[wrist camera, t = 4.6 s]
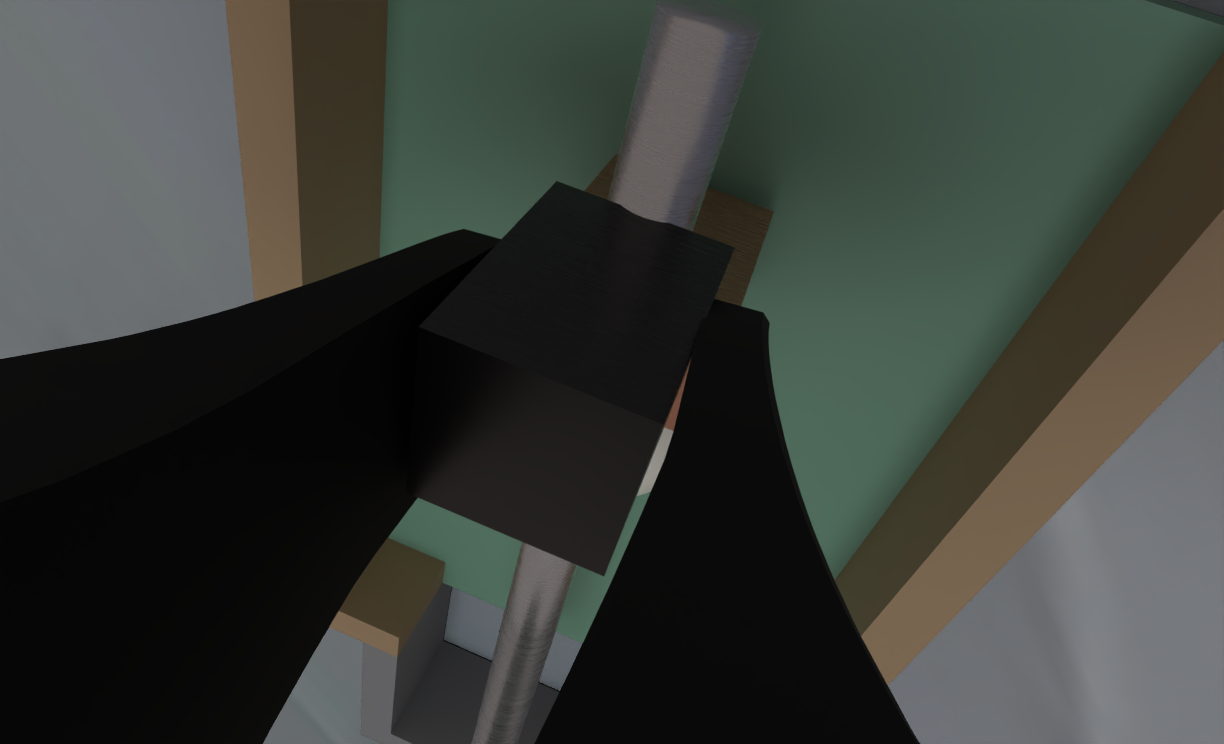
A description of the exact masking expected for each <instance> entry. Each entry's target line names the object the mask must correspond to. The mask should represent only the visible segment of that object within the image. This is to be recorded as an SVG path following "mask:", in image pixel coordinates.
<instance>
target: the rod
mask: <svg viewBox="0 0 1224 744" xmlns="http://www.w3.org/2000/svg"><path fill="white" fill-rule="evenodd" d="M760 33H761V27H760V26H759V24H758V23H757V22H756V21H754V20H753V19H752V18H750V17H749V16H747V15H745V14H743V13H741V12H739V11H737V10H735V9H733V8H730V7H728V6H725V5H722V4H720V3H716V2H713V1H710V0H657V3H656V7H655V11H654V15H653V19H652V23H651V27H650V31H649V35H648V39H647V43H646V47H645V51H644V55H643V59H642V63H641V67H640V71H639V75H638V79H637V83H636V87H635V91H634V95H633V99H632V103H631V107H630V111H629V115H628V119H627V123H626V127H625V131H624V135H623V139H622V143H621V147H620V151H619V154H615V155H614V157H613V158H612V159H611V160H610V161H609V162H608V164H607V165H606V166H605V167H604V168H603V170H602V171H601V172H600V173H599V174H598V175H597V177H596V178H595V179H594V180H593V181H592V182H591V184H590V185H589V186H588V187H587V188H586V189H585V191H582V190H580V189H577V188H574V187H572V186H569V185H566V184H564V183H561V182H558V181H556V182H555V183H554V184H553V185H552V186H551V187H550V189H549V190H548V191H547V192H546V193H545V194H544V195H543V196H542V197H541V198H540V199H539V200H538V201H537V202H536V203H535V204H534V205H533V206H532V208H531V209H530V210H529V211H528V212H527V213H526V214H525V215H524V216H523V217H522V218H521V219H520V220H519V221H518V222H517V223H516V224H515V225H514V227H513V228H512V229H511V230H510V231H509V232H508V233H507V234H506V235H505V236H504V237H503V238H502V239H501V240H500V241H499V242H498V243H497V245H496V246H495V247H494V248H493V249H492V250H491V251H490V252H489V253H488V254H487V255H486V256H485V257H484V258H483V259H482V260H481V261H480V262H479V264H478V265H477V266H476V267H475V268H474V269H473V270H472V271H471V272H470V273H469V274H468V275H467V276H466V277H465V278H464V279H463V280H462V281H461V283H460V284H459V285H458V286H457V287H456V288H455V289H454V290H453V291H452V292H451V293H450V294H449V295H448V296H447V297H446V298H445V299H444V301H443V302H442V303H441V304H440V305H439V306H438V307H437V308H436V309H435V310H434V311H433V312H432V313H431V314H430V315H429V316H428V317H427V318H426V320H425V321H424V322H423V323H422V324H421V325H420V326H419V329H418V342H417V354H416V367H415V380H414V393H413V405H412V418H411V431H410V444H409V456H408V469H407V482H406V493H408V494H410V495H413V496H415V497H418V498H420V499H422V500H425V501H427V502H429V503H432V504H434V505H436V506H439V507H441V508H444V509H446V510H448V511H451V512H453V513H455V514H458V515H460V516H462V517H465V518H467V519H469V520H472V521H474V522H477V523H479V524H481V525H484V526H486V527H488V528H491V529H493V530H495V531H498V532H500V533H502V534H505V535H507V536H510V537H512V538H514V539H517V540H519V541H521V542H522V543H521V547H520V551H519V555H518V559H517V563H516V567H515V571H514V575H513V579H512V583H511V587H510V591H509V595H508V599H507V603H506V607H505V611H504V615H503V619H502V623H501V627H500V631H499V635H498V639H497V643H496V647H495V651H494V655H493V659H492V663H491V667H490V671H489V675H488V679H487V683H486V687H485V691H484V695H483V699H482V703H481V707H480V711H479V715H478V719H477V723H476V727H475V731H474V735H473V739H472V743H471V744H517V743H518V740H519V737H520V735H521V732H522V729H523V726H524V723H525V720H526V717H527V714H528V711H529V708H530V705H531V702H532V699H533V697H534V694H535V691H536V688H537V685H538V682H539V679H540V676H541V673H542V670H543V667H544V664H545V661H546V659H547V656H548V653H549V650H550V647H551V644H552V641H553V638H554V635H555V632H556V629H557V626H558V623H559V621H560V618H561V615H562V612H563V609H564V606H565V603H566V600H567V597H568V594H569V591H570V588H571V585H572V582H573V580H574V577H575V574H576V571H577V568H578V566H580V567H583V568H585V569H587V570H590V571H592V572H594V573H597V574H599V575H601V576H605V573H606V571H607V568H608V566H609V563H610V561H611V558H612V556H613V554H614V551H615V549H616V546H617V544H618V541H619V539H620V536H621V534H622V531H623V529H624V526H625V524H626V521H627V519H628V516H629V514H630V511H631V509H632V506H633V504H634V501H635V499H636V497H637V494H638V492H639V489H640V487H641V484H642V482H643V479H644V477H645V474H646V472H647V469H648V467H649V464H650V462H651V459H652V457H653V454H654V452H655V449H656V447H657V444H658V442H659V440H660V437H661V435H662V432H663V430H664V428H667V429H669V430H672V431H674V427H675V423H676V418H677V414H678V410H679V406H680V402H681V398H682V394H683V390H684V386H685V381H686V377H687V373H688V369H689V365H690V361H691V357H692V353H693V348H694V344H695V340H696V336H697V332H698V328H699V324H700V322H701V320H702V318H707V315H708V313H709V311H710V308H711V306H712V304H713V301H714V299H717V300H721V301H725V302H728V303H732V304H735V305H739V306H742V303H743V300H744V297H745V294H746V291H747V288H748V286H749V283H750V280H751V277H752V274H753V271H754V268H755V265H756V263H757V260H758V257H759V254H760V251H761V248H762V245H763V243H764V240H765V237H766V234H767V231H768V228H769V225H770V222H771V220H772V217H773V214H774V211H772V210H769V209H766V208H764V207H761V206H758V205H755V204H753V203H750V202H747V201H744V200H742V199H739V198H736V197H733V196H731V195H728V194H725V193H723V192H720V191H717V190H714V189H712V188H709V187H708V185H709V182H710V179H711V176H712V173H713V170H714V167H715V164H716V162H717V159H718V156H719V153H720V150H721V147H722V144H723V141H724V138H725V135H726V132H727V129H728V126H729V124H730V121H731V118H732V115H733V112H734V109H735V106H736V103H737V100H738V97H739V94H740V91H741V88H742V86H743V83H744V80H745V77H746V74H747V71H748V68H749V65H750V62H751V59H752V56H753V53H754V50H755V47H756V45H757V42H758V39H759V36H760Z"/></svg>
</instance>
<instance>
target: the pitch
mask: <svg viewBox="0 0 1224 744" xmlns="http://www.w3.org/2000/svg"><path fill="white" fill-rule="evenodd" d="M710 1H713V2H716V3H720V4H722V5H725V6H728V7H730V8H733V9H735V10H737V11H739V12H741V13H743V14H745V15H747V16H749V17H750V18H752V19H753V20H754V21H756V22H757V23H758V24H759V26H760V27H761V33H760V36H759V39H758V42H757V45H756V47H755V50H754V53H753V56H752V59H751V62H750V65H749V68H748V71H747V74H746V77H745V80H744V83H743V86H742V88H741V91H740V94H739V97H738V100H737V103H736V106H735V109H734V112H733V115H732V118H731V121H730V124H729V126H728V129H727V132H726V135H725V138H724V141H723V144H722V147H721V150H720V153H719V156H718V159H717V162H716V164H715V167H714V170H713V173H712V176H711V179H710V182H709V185H708V187H709V188H712V189H714V190H717V191H720V192H723V193H725V194H728V195H731V196H733V197H736V198H739V199H742V200H744V201H747V202H750V203H753V204H755V205H758V206H761V207H764V208H766V209H769V210H772V211H774V214H773V217H772V220H771V222H770V225H769V228H768V231H767V234H766V237H765V240H764V243H763V245H762V248H761V251H760V254H759V257H758V260H757V263H756V265H755V268H754V271H753V274H752V277H751V280H750V283H749V286H748V288H747V291H746V294H745V297H744V300H743V303H742V307H746V308H750V309H753V310H757V311H760V312H764V314H765V316H766V317H767V319H768V321H769V323H770V326H769V355H770V365H771V372H772V380H773V386H774V392H775V397H776V402H777V407H778V411H779V415H780V420H781V424H782V429H783V433H784V437H785V441H786V445H787V449H788V452H789V456H790V460H791V463H792V466H793V470H794V473H795V476H796V479H797V482H798V486H799V489H800V492H801V495H802V498H803V501H804V504H805V507H806V510H807V513H808V515H809V518H810V521H811V524H812V526H813V529H814V532H815V534H816V537H817V539H818V542H819V544H820V547H821V549H822V551H823V554H824V556H825V559H826V561H827V564H828V566H829V568H830V571H831V573H832V576H833V578H834V580H835V582H836V584H837V586H838V589H839V591H840V593H841V595H842V597H843V599H844V602H845V604H846V606H847V608H848V610H849V613H850V615H851V617H852V619H853V621H854V623H855V625H856V627H857V629H858V631H859V633H860V635H861V637H862V639H863V641H864V643H865V644H866V646H867V648H868V650H869V652H870V654H871V656H872V657H873V659H874V661H875V663H876V665H877V667H878V669H879V670H880V672H881V674H882V676H883V678H884V680H885V682H886V683H887V685H889V684H890V683H891V682H892V681H893V679H894V678H895V677H896V676H897V675H898V674H899V673H900V672H901V671H902V670H903V669H904V668H905V667H906V666H907V665H908V664H909V663H910V662H911V661H912V660H913V659H914V658H915V657H916V656H917V655H918V654H919V653H920V652H921V651H922V650H923V649H924V648H925V647H926V646H927V644H928V643H929V642H930V641H931V640H932V639H933V638H934V637H935V636H936V635H937V634H938V633H939V632H940V631H941V630H942V629H943V628H944V627H945V626H946V625H947V624H948V623H949V622H950V621H951V620H952V619H953V618H954V617H955V616H956V615H957V614H958V613H959V612H960V610H961V609H962V608H963V607H964V606H965V605H966V604H967V603H968V602H969V601H970V600H971V599H972V598H973V597H974V596H975V595H976V594H977V593H978V592H979V591H980V590H981V589H982V588H983V587H984V586H985V585H986V584H987V583H988V582H989V581H990V580H991V579H992V578H993V577H994V575H995V574H996V573H997V572H998V571H999V570H1000V569H1001V568H1002V567H1003V566H1004V565H1005V564H1006V563H1007V562H1008V561H1009V560H1010V559H1011V558H1012V557H1013V556H1014V555H1015V554H1016V553H1017V552H1018V551H1019V550H1020V549H1021V548H1022V547H1023V546H1024V545H1025V544H1026V543H1027V541H1028V540H1029V539H1030V538H1031V537H1032V536H1033V535H1034V534H1035V533H1036V532H1037V531H1038V530H1039V529H1040V528H1041V527H1042V526H1043V525H1044V524H1045V523H1046V522H1047V521H1048V520H1049V519H1050V518H1051V517H1052V516H1053V515H1054V514H1055V513H1056V512H1057V511H1058V510H1059V509H1060V508H1061V506H1062V505H1063V504H1064V503H1065V502H1066V501H1067V500H1068V499H1069V498H1070V497H1071V496H1072V495H1073V494H1074V493H1075V492H1076V491H1077V490H1078V489H1079V488H1080V487H1081V486H1082V485H1083V484H1084V483H1085V482H1086V481H1087V480H1088V479H1089V478H1090V477H1091V476H1092V475H1093V474H1094V472H1095V471H1096V470H1097V469H1098V468H1099V467H1100V466H1101V465H1102V464H1103V463H1104V462H1105V461H1106V460H1107V459H1108V458H1109V457H1110V456H1111V455H1112V454H1113V453H1114V452H1115V451H1116V450H1117V449H1118V448H1119V447H1120V446H1121V445H1122V444H1123V443H1124V442H1125V441H1126V440H1127V439H1128V437H1129V436H1130V435H1131V434H1132V433H1133V432H1134V431H1135V430H1136V429H1137V428H1138V427H1139V426H1140V425H1141V424H1142V423H1143V422H1144V421H1145V420H1146V419H1147V418H1148V417H1149V416H1150V415H1151V414H1152V413H1153V412H1154V411H1155V410H1156V409H1157V408H1158V407H1159V406H1160V405H1161V404H1162V402H1163V401H1164V400H1165V399H1166V398H1167V397H1168V396H1169V395H1170V394H1171V393H1172V392H1173V391H1174V390H1175V389H1176V388H1177V387H1178V386H1179V385H1180V384H1181V383H1182V382H1183V381H1184V380H1185V379H1186V378H1187V377H1188V376H1189V375H1190V374H1191V373H1192V372H1193V371H1194V370H1195V368H1196V367H1197V366H1198V365H1199V364H1200V363H1201V362H1202V361H1203V360H1204V359H1205V358H1206V357H1207V356H1208V355H1209V354H1210V353H1211V352H1212V351H1213V350H1214V349H1215V348H1216V347H1217V346H1218V345H1219V344H1220V343H1221V342H1222V341H1223V340H1224V17H1221V16H1218V15H1215V14H1212V13H1208V12H1205V11H1202V10H1199V9H1196V8H1193V7H1190V6H1187V5H1183V4H1180V3H1177V2H1174V1H1171V0H710ZM225 2H226V12H227V23H228V33H229V43H230V53H231V64H232V74H233V84H234V94H235V105H236V115H237V125H238V135H239V145H240V156H241V166H242V176H243V186H244V197H245V207H246V217H247V227H248V238H249V248H250V258H251V268H252V278H253V289H254V299H255V301H258V300H261V299H264V298H267V297H270V296H273V295H276V294H279V293H282V292H285V291H288V290H291V289H294V288H297V287H300V286H303V285H307V284H310V283H313V282H316V281H319V280H321V279H324V278H327V277H330V276H332V275H335V274H338V273H340V272H343V271H346V270H348V269H351V268H354V267H357V266H359V265H362V264H365V263H367V262H370V261H373V260H375V259H378V258H381V257H383V256H386V255H389V254H391V253H394V252H397V251H399V250H402V249H404V248H407V247H410V246H412V245H415V244H418V243H421V242H423V241H426V240H429V239H432V238H435V237H437V236H440V235H443V234H446V233H450V232H453V231H457V230H461V229H467V230H470V231H474V232H477V233H481V234H485V235H488V236H492V237H495V238H499V239H502V238H503V237H504V236H505V235H506V234H507V233H508V232H509V231H510V230H511V229H512V228H513V227H514V225H515V224H516V223H517V222H518V221H519V220H520V219H521V218H522V217H523V216H524V215H525V214H526V213H527V212H528V211H529V210H530V209H531V208H532V206H533V205H534V204H535V203H536V202H537V201H538V200H539V199H540V198H541V197H542V196H543V195H544V194H545V193H546V192H547V191H548V190H549V189H550V187H551V186H552V185H553V184H554V183H555V182H556V181H558V182H561V183H564V184H566V185H569V186H572V187H574V188H577V189H580V190H582V191H585V189H586V188H587V187H588V186H589V185H590V184H591V182H592V181H593V180H594V179H595V178H596V177H597V175H598V174H599V173H600V172H601V171H602V170H603V168H604V167H605V166H606V165H607V164H608V162H609V161H610V160H611V159H612V158H613V157H614V155H615V154H619V151H620V147H621V143H622V139H623V135H624V131H625V127H626V123H627V119H628V115H629V111H630V107H631V103H632V99H633V95H634V91H635V87H636V83H637V79H638V75H639V71H640V67H641V63H642V59H643V55H644V51H645V47H646V43H647V39H648V35H649V31H650V27H651V23H652V19H653V15H654V11H655V7H656V3H657V0H225ZM649 495H650V492H648V493H645V494H643V495H639V496H637V497H636V499H635V501H634V504H633V506H632V509H631V511H630V514H629V516H628V519H627V521H626V524H625V526H624V529H623V531H622V534H621V536H620V539H619V541H618V544H617V546H616V549H615V551H614V554H613V556H612V558H611V561H610V563H609V566H608V568H607V571H606V573H605V576H601V575H599V574H597V573H594V572H592V571H590V570H587V569H585V568H583V567H580V566H578V568H577V571H576V574H575V577H574V580H573V582H572V585H571V588H570V591H569V594H568V597H567V600H566V603H565V606H564V609H563V612H562V615H561V618H560V621H559V623H558V626H557V629H556V632H558V633H560V634H562V635H564V636H567V637H569V638H571V639H574V640H576V641H578V642H581V643H583V642H584V639H585V637H586V635H587V633H588V631H589V629H590V626H591V624H592V622H593V620H594V618H595V616H596V614H597V611H598V609H599V607H600V605H601V603H602V601H603V599H604V596H605V594H606V592H607V590H608V588H609V586H610V583H611V581H612V579H613V577H614V574H615V572H616V570H617V568H618V565H619V563H620V561H621V559H622V556H623V554H624V552H625V550H626V547H627V545H628V543H629V541H630V538H631V536H632V534H633V532H634V529H635V527H636V525H637V523H638V520H639V518H640V516H641V513H642V511H643V509H644V506H645V504H646V502H647V499H648V497H649ZM521 543H522V542H521V541H519V540H517V539H514V538H512V537H510V536H507V535H505V534H502V533H500V532H498V531H495V530H493V529H491V528H488V527H486V526H484V525H481V524H479V523H477V522H474V521H472V520H469V519H467V518H465V517H462V516H460V515H458V514H455V513H453V512H451V511H448V510H446V509H444V508H441V507H439V506H436V505H434V504H432V503H429V502H427V501H425V500H422V499H420V498H417V500H416V501H415V502H414V504H413V505H412V506H411V508H410V509H409V510H408V512H407V513H406V514H405V516H404V517H403V518H402V520H401V521H400V522H399V524H398V525H397V526H396V527H395V529H394V530H393V531H392V533H391V534H390V535H389V537H388V538H387V539H386V541H385V542H384V543H383V545H382V546H381V547H380V549H379V550H378V551H377V553H376V554H375V555H374V557H373V558H372V560H371V561H370V563H369V564H368V566H367V567H366V569H365V570H364V572H363V573H362V574H361V576H360V577H359V579H358V580H357V582H356V583H355V585H354V586H353V588H352V590H351V591H350V593H349V595H348V596H347V598H346V600H345V601H344V603H343V605H342V606H341V608H340V610H339V611H338V613H337V615H336V616H335V618H334V620H333V621H332V623H331V625H330V626H329V627H331V628H333V629H335V630H337V631H340V632H342V633H344V634H346V635H348V636H351V637H353V638H355V639H357V640H360V641H362V642H363V663H362V700H361V735H363V736H365V737H367V738H370V739H372V740H374V741H376V742H378V743H380V744H471V743H472V739H473V735H474V731H475V727H476V723H477V719H478V715H479V711H480V707H481V703H482V699H483V695H484V691H485V687H486V683H487V679H488V675H489V671H490V667H491V663H492V662H490V661H488V660H486V659H483V658H481V657H479V656H477V655H474V654H472V653H470V652H468V651H465V650H463V649H461V648H459V647H456V646H454V645H452V644H450V643H447V642H445V641H443V639H444V632H445V626H446V620H447V614H448V608H449V601H450V595H451V589H452V587H454V588H456V589H459V590H461V591H463V592H466V593H468V594H470V595H472V596H475V597H477V598H479V599H482V600H484V601H486V602H489V603H491V604H493V605H495V606H498V607H500V608H502V609H505V607H506V603H507V599H508V595H509V591H510V587H511V583H512V579H513V575H514V571H515V567H516V563H517V559H518V555H519V551H520V547H521ZM558 694H559V692H558V691H556V690H553V689H551V688H549V687H547V686H544V685H542V684H540V683H538V685H537V688H536V691H535V694H534V697H533V699H532V702H531V705H530V708H529V711H528V714H527V717H526V720H525V723H524V726H523V729H522V732H521V735H520V737H519V740H518V743H517V744H534V743H535V741H536V739H537V737H538V735H539V733H540V731H541V729H542V727H543V725H544V723H545V721H546V719H547V717H548V715H549V712H550V710H551V708H552V706H553V704H554V702H555V700H556V698H557V696H558Z"/></svg>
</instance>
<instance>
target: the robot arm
mask: <svg viewBox="0 0 1224 744" xmlns="http://www.w3.org/2000/svg"><path fill="white" fill-rule="evenodd" d="M500 240H501V239H499V238H495V237H492V236H488V235H485V234H481V233H477V232H474V231H470V230H467V229H461V230H457V231H453V232H450V233H446V234H443V235H440V236H437V237H435V238H432V239H429V240H426V241H423V242H421V243H418V244H415V245H412V246H410V247H407V248H404V249H402V250H399V251H397V252H394V253H391V254H389V255H386V256H383V257H381V258H378V259H375V260H373V261H370V262H367V263H365V264H362V265H359V266H357V267H354V268H351V269H348V270H346V271H343V272H340V273H338V274H335V275H332V276H330V277H327V278H324V279H321V280H319V281H316V282H313V283H310V284H307V285H303V286H300V287H297V288H294V289H291V290H288V291H285V292H282V293H279V294H276V295H273V296H270V297H267V298H264V299H261V300H258V301H255V302H252V303H249V304H246V305H243V306H240V307H236V308H233V309H230V310H226V311H223V312H219V313H216V314H212V315H209V316H205V317H201V318H198V319H194V320H190V321H186V322H182V323H178V324H174V325H170V326H166V327H162V328H158V329H153V330H149V331H145V332H141V333H137V334H133V335H128V336H123V337H119V338H114V339H109V340H104V341H98V342H93V343H87V344H82V345H76V346H71V347H65V348H60V349H54V350H49V351H43V352H38V353H32V354H27V355H21V356H16V357H10V358H5V359H0V744H263V742H264V740H265V738H266V737H267V735H268V733H269V731H270V729H271V727H272V725H273V724H274V722H275V720H276V718H277V717H278V715H279V713H280V711H281V710H282V708H283V706H284V704H285V702H286V701H287V699H288V697H289V695H290V694H291V692H292V690H293V688H294V687H295V685H296V683H297V681H298V680H299V678H300V676H301V674H302V672H303V671H304V669H305V667H306V665H307V664H308V662H309V660H310V658H311V657H312V655H313V653H314V651H315V650H316V648H317V646H318V645H319V643H320V641H321V640H322V638H323V636H324V635H325V633H326V631H327V630H328V628H329V626H330V625H331V623H332V621H333V620H334V618H335V616H336V615H337V613H338V611H339V610H340V608H341V606H342V605H343V603H344V601H345V600H346V598H347V596H348V595H349V593H350V591H351V590H352V588H353V586H354V585H355V583H356V582H357V580H358V579H359V577H360V576H361V574H362V573H363V572H364V570H365V569H366V567H367V566H368V564H369V563H370V561H371V560H372V558H373V557H374V555H375V554H376V553H377V551H378V550H379V549H380V547H381V546H382V545H383V543H384V542H385V541H386V539H387V538H388V537H389V535H390V534H391V533H392V531H393V530H394V529H395V527H396V526H397V525H398V524H399V522H400V521H401V520H402V518H403V517H404V516H405V514H406V513H407V512H408V510H409V509H410V508H411V506H412V505H413V504H414V502H415V501H416V500H417V498H418V497H415V496H413V495H410V494H408V493H406V482H407V469H408V456H409V444H410V431H411V418H412V405H413V393H414V380H415V367H416V354H417V342H418V329H419V326H420V325H421V324H422V323H423V322H424V321H425V320H426V318H427V317H428V316H429V315H430V314H431V313H432V312H433V311H434V310H435V309H436V308H437V307H438V306H439V305H440V304H441V303H442V302H443V301H444V299H445V298H446V297H447V296H448V295H449V294H450V293H451V292H452V291H453V290H454V289H455V288H456V287H457V286H458V285H459V284H460V283H461V281H462V280H463V279H464V278H465V277H466V276H467V275H468V274H469V273H470V272H471V271H472V270H473V269H474V268H475V267H476V266H477V265H478V264H479V262H480V261H481V260H482V259H483V258H484V257H485V256H486V255H487V254H488V253H489V252H490V251H491V250H492V249H493V248H494V247H495V246H496V245H497V243H498V242H499V241H500ZM769 326H770V323H769V321H768V319H767V317H766V316H765V314H764V312H760V311H757V310H753V309H750V308H746V307H742V306H739V305H735V304H732V303H728V302H725V301H721V300H717V299H714V301H713V304H712V306H711V308H710V311H709V313H708V315H707V318H702V320H701V322H700V324H699V328H698V332H697V336H696V340H695V344H694V348H693V353H692V357H691V361H690V365H689V369H688V373H687V377H686V381H685V386H684V390H683V394H682V398H681V402H680V406H679V410H678V414H677V418H676V423H675V427H674V431H673V434H672V437H671V441H670V444H669V447H668V450H667V453H666V456H665V459H664V462H663V464H662V466H661V469H660V471H659V473H658V476H657V478H656V481H655V483H654V485H653V488H652V490H651V492H650V495H649V497H648V499H647V502H646V504H645V506H644V509H643V511H642V513H641V516H640V518H639V520H638V523H637V525H636V527H635V529H634V532H633V534H632V536H631V538H630V541H629V543H628V545H627V547H626V550H625V552H624V554H623V556H622V559H621V561H620V563H619V565H618V568H617V570H616V572H615V574H614V577H613V579H612V581H611V583H610V586H609V588H608V590H607V592H606V594H605V596H604V599H603V601H602V603H601V605H600V607H599V609H598V611H597V614H596V616H595V618H594V620H593V622H592V624H591V626H590V629H589V631H588V633H587V635H586V637H585V639H584V642H583V644H582V646H581V648H580V650H579V652H578V654H577V657H576V659H575V661H574V663H573V665H572V667H571V669H570V672H569V674H568V676H567V678H566V680H565V682H564V684H563V686H562V688H561V690H560V692H559V694H558V696H557V698H556V700H555V702H554V704H553V706H552V708H551V710H550V712H549V715H548V717H547V719H546V721H545V723H544V725H543V727H542V729H541V731H540V733H539V735H538V737H537V739H536V741H535V743H534V744H920V743H919V741H918V740H917V738H916V736H915V735H914V733H913V731H912V730H911V728H910V726H909V724H908V722H907V721H906V719H905V717H904V715H903V713H902V711H901V709H900V708H899V706H898V704H897V702H896V700H895V698H894V696H893V695H892V693H891V691H890V689H889V687H888V685H887V683H886V682H885V680H884V678H883V676H882V674H881V672H880V670H879V669H878V667H877V665H876V663H875V661H874V659H873V657H872V656H871V654H870V652H869V650H868V648H867V646H866V644H865V643H864V641H863V639H862V637H861V635H860V633H859V631H858V629H857V627H856V625H855V623H854V621H853V619H852V617H851V615H850V613H849V610H848V608H847V606H846V604H845V602H844V599H843V597H842V595H841V593H840V591H839V589H838V586H837V584H836V582H835V580H834V578H833V576H832V573H831V571H830V568H829V566H828V564H827V561H826V559H825V556H824V554H823V551H822V549H821V547H820V544H819V542H818V539H817V537H816V534H815V532H814V529H813V526H812V524H811V521H810V518H809V515H808V513H807V510H806V507H805V504H804V501H803V498H802V495H801V492H800V489H799V486H798V482H797V479H796V476H795V473H794V470H793V466H792V463H791V460H790V456H789V452H788V449H787V445H786V441H785V437H784V433H783V429H782V424H781V420H780V415H779V411H778V407H777V402H776V397H775V392H774V386H773V380H772V372H771V365H770V355H769Z"/></svg>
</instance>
